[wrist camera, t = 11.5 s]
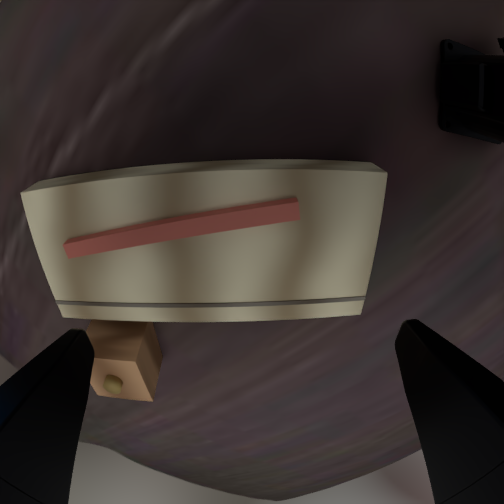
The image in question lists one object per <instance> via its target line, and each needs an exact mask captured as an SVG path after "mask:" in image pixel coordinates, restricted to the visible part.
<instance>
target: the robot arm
mask: <svg viewBox="0 0 504 504" xmlns="http://www.w3.org/2000/svg"><path fill="white" fill-rule="evenodd" d="M497 39H498V42H499V45H500V48H502V49H503V52H504V37H503V38H497ZM447 44H448V45H449V47H450V48H448V47H447ZM446 121H447V126H445V122H446ZM439 126H440V128H441V129H442V130H444V131H447V132H451V133H456V134H460V135H465V136H469V137H473V138H477V139H481V140H485V141H488V142H492V143H496V144H500V143H501V142H503V143H504V56H503V55H485V54H483V53H481V52H479V51H477V50H474V49H472V48H470V47H467V46H465V45H463V44H460V43H458V42H455V41H452V40H450V39H445V40H442V42H441V86H440V113H439ZM395 350H396V354H397V358H398V362H399V367H400V371H401V376H402V380H403V385H404V389H405V393H406V396H407V400H408V403H409V406H410V409H411V412H412V416H413V419H414V422H415V426H416V429H417V432H418V436H419V440H420V443H421V447H422V451H423V454H424V458H425V462H426V466H427V470H428V474H429V478H430V483H431V487H432V491H433V496H434V501H435V504H504V382H503V380H501V379H500V378H499V377H497V376H496V375H495V374H493V373H492V372H491V371H489V370H488V369H486V368H485V367H484V366H482V365H481V364H480V363H478V362H477V361H476V360H474V359H473V358H471V357H470V356H469V355H467V354H466V353H464V352H463V351H462V350H460V349H459V348H457V347H456V346H455V345H453V344H452V343H450V342H449V341H448V340H446V339H445V338H443V337H442V336H440V335H439V334H438V333H436V332H435V331H433V330H432V329H430V328H429V327H428V326H426V325H425V324H423V323H422V322H420V321H419V320H417V319H411V320H405V321H404V322H403V323H402V325H401V327H400V330H399V333H398V335H397V338H396V340H395ZM94 357H95V352H94V348H93V346H92V344H91V341H90V339H89V337H88V335H87V333H86V331H85V330H84V329H77V328H72V329H70V330H69V331H67V332H66V333H65V334H63V335H62V336H61V337H60V338H58V339H57V340H56V341H55V342H53V343H52V344H51V345H49V346H48V347H47V348H46V349H44V350H43V351H42V352H41V353H39V354H38V355H37V356H36V357H35V358H33V359H32V360H31V361H30V362H28V363H27V364H26V365H25V366H24V367H22V368H21V369H20V370H19V371H18V372H16V373H15V374H14V375H13V376H11V378H9V379H8V380H7V381H6V382H4V383H3V384H2V385H1V386H0V504H68V500H69V492H70V485H71V478H72V473H73V466H74V461H75V455H76V450H77V445H78V440H79V435H80V431H81V426H82V422H83V417H84V413H85V409H86V405H87V400H88V394H89V387H90V381H91V375H92V369H93V363H94Z"/></svg>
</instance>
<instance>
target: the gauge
mask: <svg viewBox="0 0 504 504" xmlns="http://www.w3.org/2000/svg"><path fill="white" fill-rule="evenodd" d="M86 333H87V335H88V337H89V339H90V341H91V344H92V346H93V348H94V352H95V357H94V363H93V369H92V375H91V381H90V383H91V385H92V387H93V388H94V390H95V391H96V393H97V395H101V396H108V397H115V398H123V399H132V400H141V401H152V402H153V399H154V395H155V390H156V385H157V380H158V376H159V371H160V367H161V362H162V358H163V355H162V352H161V349H160V346H159V343H158V339H157V336H156V333H155V329H154V326H153V322H149V321H119V320H98V319H92V320H91V322H90V324H89V326H88V328H87V330H86Z"/></svg>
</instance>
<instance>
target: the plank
mask: <svg viewBox="0 0 504 504" xmlns="http://www.w3.org/2000/svg"><path fill="white" fill-rule="evenodd" d="M387 174H388V173H387V172H386V171H384V170H383V169H381V168H379V167H378V166H376V165H375V164H373V163H372V162H358V161H338V160H304V159H256V160H222V161H202V162H186V163H172V164H160V165H149V166H139V167H129V168H121V169H112V170H105V171H97V172H90V173H83V174H77V175H70V176H64V177H58V178H53V179H47V180H42V181H39V182H37V183H35V184H34V185H32V186H31V187H29V188H27V189H26V190H24V191H23V192H21V197H22V201H23V205H24V209H25V213H26V216H27V220H28V224H29V227H30V230H31V234H32V237H33V240H34V243H35V246H36V249H37V252H38V255H39V258H40V261H41V264H42V267H43V269H44V272H45V275H46V277H47V280H48V283H49V285H50V288H51V290H52V293H53V295H54V297H55V302H56V304H58V307H59V309H60V311H61V314H62V316H63V317H68V318H82V319H98V320H119V321H149V322H237V321H268V320H290V319H307V318H322V317H336V316H348V315H359V314H361V311H362V307H363V303H364V300H365V298H366V296H365V295H366V291H367V287H368V282H369V278H370V273H371V269H372V264H373V259H374V254H375V249H376V244H377V239H378V233H379V228H380V222H381V216H382V210H383V203H384V197H385V189H386V182H387ZM288 198H297V200H298V202H299V212H300V220H296V221H289V222H282V223H276V224H269V225H262V226H256V227H249V228H243V229H237V230H230V231H224V232H218V233H211V234H205V235H199V236H193V237H187V238H181V239H175V240H169V241H164V242H158V243H152V244H146V245H141V246H135V247H129V248H124V249H118V250H113V251H107V252H102V253H97V254H91V255H86V256H81V257H75V258H70V259H68V257H67V255H66V252H65V250H64V248H63V244H64V242H65V241H66V240H67V239H72V238H76V237H80V236H85V235H89V234H94V233H98V232H103V231H108V230H112V229H117V228H122V227H127V226H131V225H136V224H141V223H146V222H152V221H157V220H162V219H167V218H173V217H178V216H183V215H189V214H194V213H200V212H206V211H212V210H218V209H224V208H230V207H236V206H242V205H248V204H255V203H261V202H268V201H275V200H281V199H288Z"/></svg>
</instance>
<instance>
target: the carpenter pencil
mask: <svg viewBox="0 0 504 504" xmlns="http://www.w3.org/2000/svg"><path fill="white" fill-rule="evenodd" d="M296 220H300V212H299V202H298V200H297V198H288V199H281V200H275V201H268V202H261V203H255V204H248V205H242V206H236V207H230V208H224V209H218V210H212V211H206V212H200V213H194V214H189V215H183V216H178V217H173V218H167V219H162V220H157V221H152V222H146V223H141V224H136V225H131V226H127V227H122V228H117V229H112V230H108V231H103V232H98V233H94V234H89V235H85V236H80V237H76V238H72V239H67V240H66V241H65V242H64V244H63V248H64V250H65V252H66V255H67V257H68V259H70V258H75V257H81V256H86V255H91V254H97V253H102V252H107V251H113V250H118V249H124V248H129V247H135V246H141V245H146V244H152V243H158V242H164V241H169V240H175V239H181V238H187V237H193V236H199V235H205V234H211V233H218V232H224V231H230V230H237V229H243V228H249V227H256V226H262V225H269V224H276V223H282V222H289V221H296Z"/></svg>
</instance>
